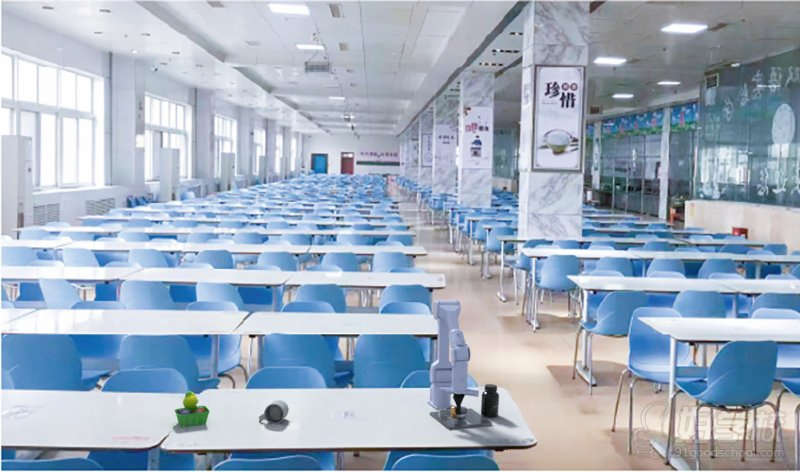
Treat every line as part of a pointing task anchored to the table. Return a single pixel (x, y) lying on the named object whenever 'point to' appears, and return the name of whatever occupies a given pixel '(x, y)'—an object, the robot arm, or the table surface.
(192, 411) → the fruit basket
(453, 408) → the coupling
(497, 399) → the supplement bottle
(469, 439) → the table surface
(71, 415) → the table surface
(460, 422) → the base
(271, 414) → the ceramic mug
